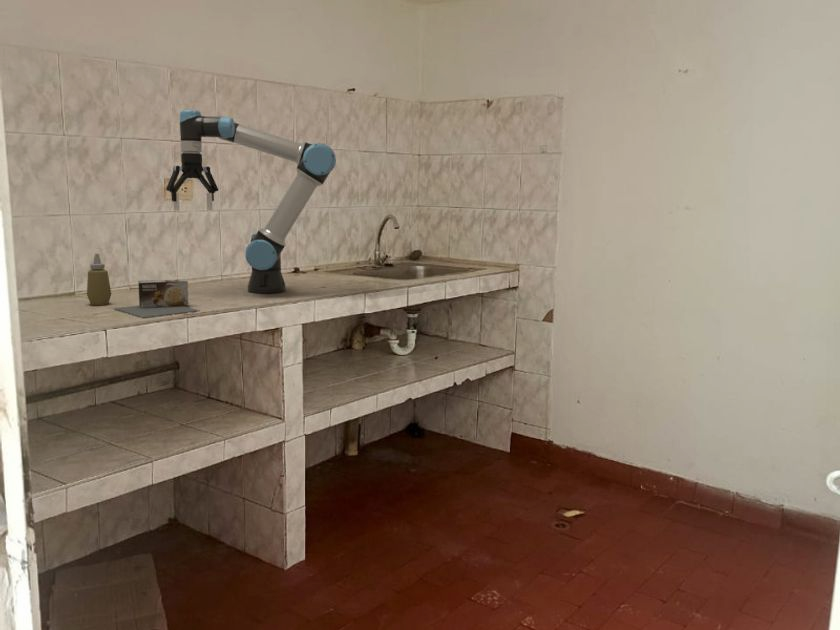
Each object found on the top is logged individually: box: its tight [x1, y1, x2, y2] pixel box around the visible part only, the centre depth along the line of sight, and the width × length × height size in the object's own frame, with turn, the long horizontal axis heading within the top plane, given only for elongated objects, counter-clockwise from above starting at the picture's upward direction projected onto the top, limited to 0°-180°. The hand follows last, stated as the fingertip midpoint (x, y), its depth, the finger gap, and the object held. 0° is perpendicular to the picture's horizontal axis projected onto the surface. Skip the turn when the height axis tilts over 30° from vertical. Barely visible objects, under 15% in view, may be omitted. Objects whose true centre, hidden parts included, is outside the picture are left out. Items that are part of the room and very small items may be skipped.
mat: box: [113, 305, 201, 319], centre depth 255 cm, size 20×22×1 cm
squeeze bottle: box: [86, 253, 112, 306], centre depth 263 cm, size 8×8×18 cm
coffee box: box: [137, 278, 189, 308], centre depth 261 cm, size 9×6×16 cm
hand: (193, 210), depth 282 cm, fingers open, 13 cm apart
